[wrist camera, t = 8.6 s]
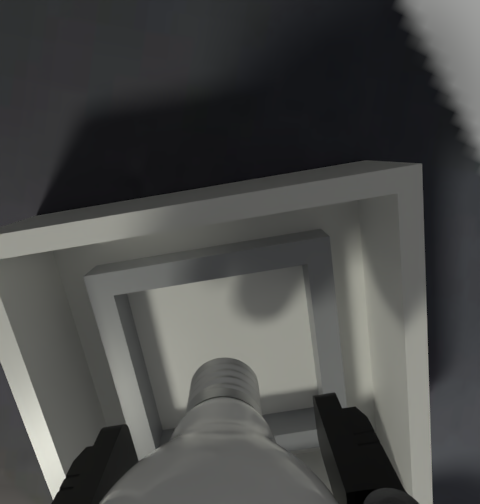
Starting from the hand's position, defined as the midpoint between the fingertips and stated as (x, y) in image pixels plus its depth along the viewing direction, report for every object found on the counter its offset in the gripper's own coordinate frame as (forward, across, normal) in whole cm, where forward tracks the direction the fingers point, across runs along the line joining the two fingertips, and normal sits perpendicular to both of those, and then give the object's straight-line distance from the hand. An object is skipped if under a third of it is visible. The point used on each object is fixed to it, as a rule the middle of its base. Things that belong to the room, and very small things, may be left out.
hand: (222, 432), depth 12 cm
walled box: (+7, 0, 0) cm, 7 cm away
